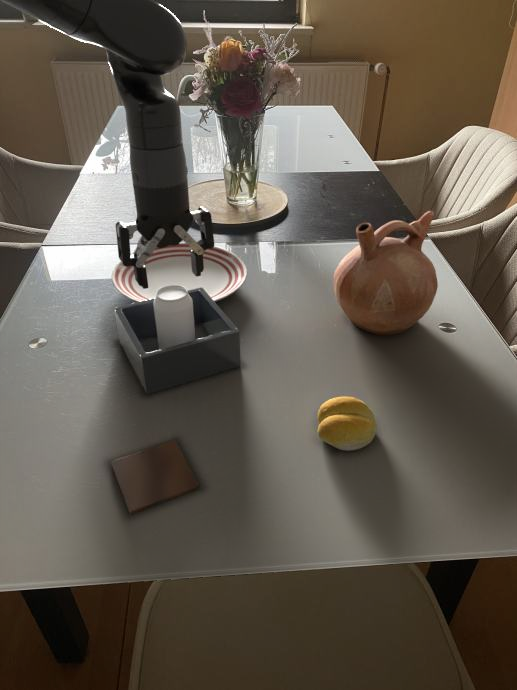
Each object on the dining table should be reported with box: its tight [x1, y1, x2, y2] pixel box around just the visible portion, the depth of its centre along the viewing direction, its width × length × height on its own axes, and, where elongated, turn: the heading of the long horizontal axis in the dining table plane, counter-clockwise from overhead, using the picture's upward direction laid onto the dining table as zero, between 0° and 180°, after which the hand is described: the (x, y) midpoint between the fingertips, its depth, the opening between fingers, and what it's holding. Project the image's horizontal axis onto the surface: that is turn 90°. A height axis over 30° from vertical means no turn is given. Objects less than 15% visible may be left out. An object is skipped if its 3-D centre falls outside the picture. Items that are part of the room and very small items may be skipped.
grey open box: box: [113, 287, 241, 395], centre depth 89 cm, size 16×16×7 cm
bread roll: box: [317, 396, 378, 452], centre depth 75 cm, size 8×9×4 cm
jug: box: [333, 210, 439, 336], centre depth 95 cm, size 18×18×20 cm
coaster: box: [110, 439, 200, 515], centre depth 69 cm, size 9×9×1 cm
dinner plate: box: [111, 242, 248, 303], centre depth 111 cm, size 27×27×3 cm
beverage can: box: [153, 285, 197, 350], centre depth 88 cm, size 6×6×12 cm
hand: (170, 280), depth 83 cm, fingers open, 8 cm apart
